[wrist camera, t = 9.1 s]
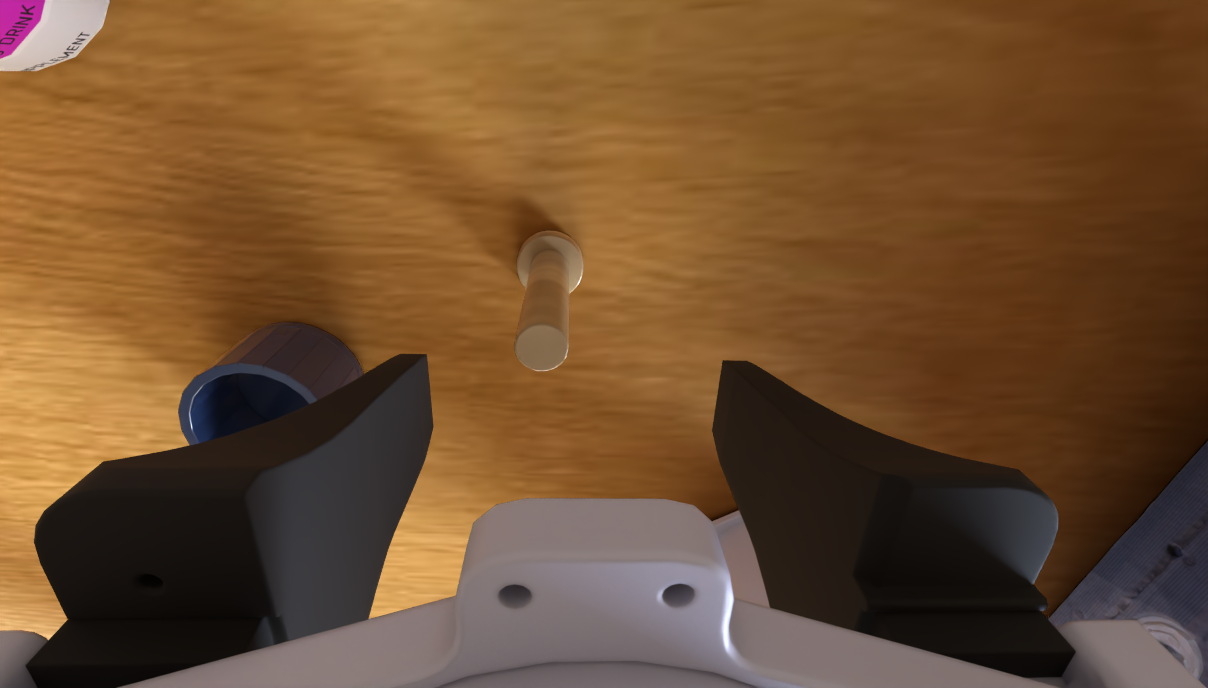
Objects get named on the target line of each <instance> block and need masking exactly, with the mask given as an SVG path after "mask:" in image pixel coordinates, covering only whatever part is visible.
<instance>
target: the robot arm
mask: <svg viewBox="0 0 1208 688" xmlns="http://www.w3.org/2000/svg"><path fill="white" fill-rule="evenodd" d="M432 431H433V417H432V406H431V395H430V384H429V373H428V362H427V354H399V355H397V356H395V357H393V358H391V359H389V360H387V361H386V362H384V363H382V364H381V365H379V366H377V367H376V368H374V369H372V370H371V371H369V372H367V373H366V374H364V375H362V376H361V377H359V378H357V379H356V380H354V381H352V382H350V383H349V384H347V385H345V386H343V387H342V388H340V389H338V390H336V391H334V392H332V393H330V394H328V395H327V396H325V397H323V398H321V399H319V400H317V401H315V402H313V403H311V404H309V405H307V406H305V407H303V408H301V409H298V410H296V411H294V412H291V413H289V414H287V415H284V416H282V417H279V418H277V419H274V420H272V421H269V422H266V423H263V424H260V425H257V426H254V427H251V428H248V429H246V430H243V431H240V432H237V433H234V434H231V435H227V436H224V437H220V438H217V439H213V440H209V441H206V442H202V443H198V444H194V445H189V446H185V447H181V448H177V449H172V450H167V451H162V452H157V453H151V454H146V455H140V456H134V457H129V458H123V459H118V460H111V461H104V462H102V463H101V464H100V465H99V466H97V467H96V468H95V469H94V470H93V471H91V472H90V473H89V474H88V475H87V476H85V477H84V478H83V479H82V480H81V481H79V482H78V483H77V484H76V485H75V486H73V487H72V488H71V489H70V490H69V491H68V492H66V493H65V494H64V495H63V496H62V497H60V498H59V499H58V500H57V501H56V502H54V503H53V504H52V505H51V506H50V507H48V508H47V509H46V510H45V511H44V512H43V514H42V516H41V517H40V519H39V521H38V523H37V524H36V527H35V538H34V544H35V547H36V551H37V554H38V557H39V561H40V564H41V566H42V568H43V570H44V572H45V574H46V576H47V578H48V580H49V582H50V584H51V586H52V588H53V590H54V592H55V594H56V596H57V598H58V600H59V602H60V605H61V607H62V609H63V611H64V613H65V615H66V617H67V619H68V620H67V621H66V622H65V623H64V624H63V625H62V627H61V628H60V629H59V630H58V631H57V632H56V633H55V634H54V635H53V636H52V637H51V638H50V640H49V641H48V640H47V639H46V638H45V637H43V636H41V635H39V634H37V633H35V632H29V631H22V630H13V631H0V688H1206V687H1205V686H1204V685H1203V684H1202V683H1201V682H1200V681H1199V680H1198V679H1197V678H1196V677H1195V676H1194V675H1192V674H1191V673H1190V672H1189V671H1188V670H1187V669H1186V668H1185V667H1184V666H1183V665H1182V664H1181V663H1180V662H1179V661H1178V660H1177V659H1176V658H1175V657H1174V656H1173V655H1172V654H1171V653H1170V652H1169V651H1168V650H1167V649H1166V648H1165V647H1164V646H1162V645H1161V644H1160V643H1159V642H1158V641H1157V640H1156V639H1155V638H1154V637H1153V636H1152V635H1151V634H1150V633H1149V632H1148V631H1147V630H1146V629H1145V628H1144V627H1143V626H1142V625H1141V624H1140V623H1139V622H1138V621H1135V620H1077V621H1071V622H1067V623H1066V624H1064V625H1062V626H1060V627H1059V628H1058V629H1056V628H1055V627H1054V626H1053V624H1052V623H1051V622H1050V621H1049V620H1048V619H1047V618H1046V616H1045V615H1044V614H1043V613H1042V612H1041V611H1045V610H1046V608H1047V606H1048V603H1047V599H1046V598H1045V597H1044V596H1043V595H1042V594H1041V593H1040V592H1039V590H1038V589H1037V588H1036V587H1035V586H1034V585H1033V584H1034V582H1035V580H1036V578H1037V576H1038V574H1039V572H1040V570H1041V568H1042V566H1043V564H1044V562H1045V560H1046V558H1047V556H1048V554H1049V552H1050V550H1051V548H1052V546H1053V543H1054V540H1055V537H1056V534H1057V531H1058V512H1057V510H1056V507H1055V505H1054V503H1053V501H1052V500H1051V499H1050V498H1049V497H1048V496H1047V495H1046V494H1045V493H1044V492H1043V491H1042V490H1041V489H1040V488H1038V487H1037V486H1036V485H1035V484H1034V483H1033V482H1032V481H1031V480H1030V479H1029V478H1028V477H1026V476H1025V475H1024V474H1023V473H1022V472H1021V471H1020V470H1018V469H1014V468H1009V467H1004V466H999V465H994V464H989V463H984V462H979V461H974V460H969V459H964V458H960V457H956V456H952V455H948V454H945V453H941V452H937V451H933V450H930V449H927V448H923V447H920V446H917V445H913V444H910V443H907V442H905V441H902V440H899V439H896V438H893V437H890V436H888V435H885V434H882V433H880V432H877V431H875V430H872V429H870V428H867V427H865V426H863V425H861V424H858V423H856V422H854V421H852V420H849V419H847V418H845V417H843V416H841V415H839V414H837V413H835V412H833V411H831V410H830V409H828V408H826V407H824V406H822V405H820V404H819V403H817V402H815V401H813V400H811V399H810V398H808V397H806V396H805V395H803V394H801V393H800V392H798V391H796V390H795V389H793V388H792V387H790V386H788V385H787V384H785V383H784V382H782V381H781V380H779V379H777V378H776V377H774V376H773V375H771V374H770V373H768V372H766V371H765V370H763V369H761V368H760V367H758V366H756V365H755V364H753V363H751V362H748V361H728V360H723V362H722V369H721V375H720V382H719V388H718V395H717V402H716V408H715V415H714V422H713V428H712V432H713V436H714V441H715V445H716V450H717V454H718V458H719V462H720V465H721V467H722V470H723V472H724V475H725V477H726V480H727V482H728V485H729V487H730V490H731V492H732V495H733V497H734V500H735V502H736V504H737V507H738V509H739V510H738V511H736V512H733V513H731V514H729V515H726V516H724V517H721V518H719V519H717V520H714V521H711V520H710V519H709V518H708V517H706V516H705V515H704V514H703V513H702V512H701V511H700V510H699V509H698V508H697V507H695V506H694V505H690V504H686V503H681V502H677V501H672V500H668V499H616V498H526V499H521V500H516V501H511V502H506V503H501V504H497V505H495V506H494V507H492V508H491V509H490V510H489V511H487V512H486V513H485V514H484V515H482V516H481V517H480V518H479V519H477V520H476V521H475V522H474V523H473V527H472V530H471V533H470V537H469V540H468V544H467V548H466V552H465V557H464V561H463V566H462V570H461V575H460V579H459V584H458V588H457V592H456V596H453V597H449V598H445V599H442V600H438V601H434V602H431V603H427V604H423V605H419V606H416V607H412V608H408V609H405V610H401V611H397V612H394V613H390V614H386V615H383V616H379V617H375V618H372V619H368V618H369V615H370V611H371V607H372V604H373V600H374V596H375V593H376V589H377V585H378V582H379V579H380V575H381V572H382V568H383V565H384V561H385V558H386V555H387V551H388V548H389V546H390V543H391V540H392V538H393V535H394V532H395V530H396V528H397V525H398V523H399V521H400V518H401V516H402V514H403V511H404V509H405V507H406V504H407V502H408V500H409V497H410V495H411V493H412V490H413V488H414V486H415V483H416V481H417V478H418V476H419V474H420V471H421V469H422V466H423V464H424V461H425V458H426V455H427V451H428V447H429V443H430V439H431V435H432Z"/></svg>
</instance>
